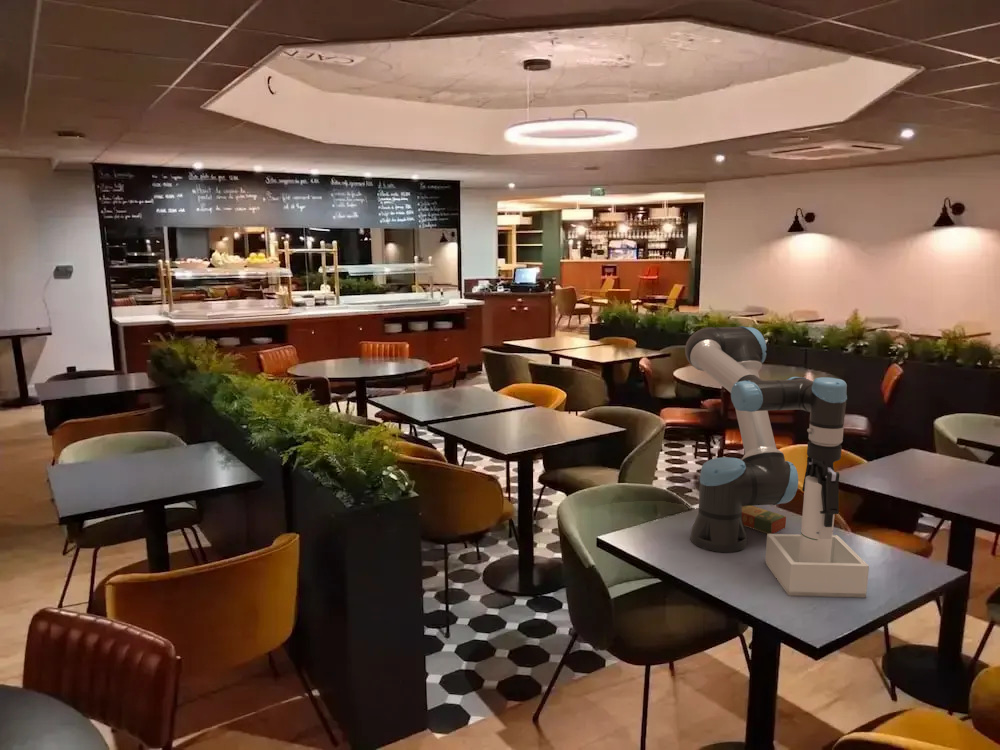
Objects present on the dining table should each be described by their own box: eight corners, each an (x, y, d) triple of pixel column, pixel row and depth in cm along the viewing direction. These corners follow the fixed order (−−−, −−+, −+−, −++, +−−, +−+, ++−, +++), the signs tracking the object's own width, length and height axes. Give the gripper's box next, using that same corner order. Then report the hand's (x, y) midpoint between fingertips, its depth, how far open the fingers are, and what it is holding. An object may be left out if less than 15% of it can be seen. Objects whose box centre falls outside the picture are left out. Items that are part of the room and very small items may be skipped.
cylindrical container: (831, 583, 176) (840, 485, 171) (800, 580, 177) (808, 483, 173) (824, 570, 183) (833, 476, 178) (795, 567, 184) (802, 474, 179)
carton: (737, 513, 225) (738, 500, 224) (786, 529, 213) (787, 515, 212) (722, 519, 219) (723, 506, 219) (770, 536, 207) (772, 521, 207)
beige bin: (765, 562, 189) (767, 533, 188) (834, 564, 188) (837, 535, 187) (788, 595, 172) (791, 564, 170) (865, 597, 171) (869, 566, 169)
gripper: (793, 430, 184) (786, 513, 189) (826, 455, 163) (818, 548, 167) (822, 430, 184) (815, 513, 188) (860, 455, 163) (851, 549, 167)
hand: (817, 530), depth 178 cm, fingers open, 9 cm apart
